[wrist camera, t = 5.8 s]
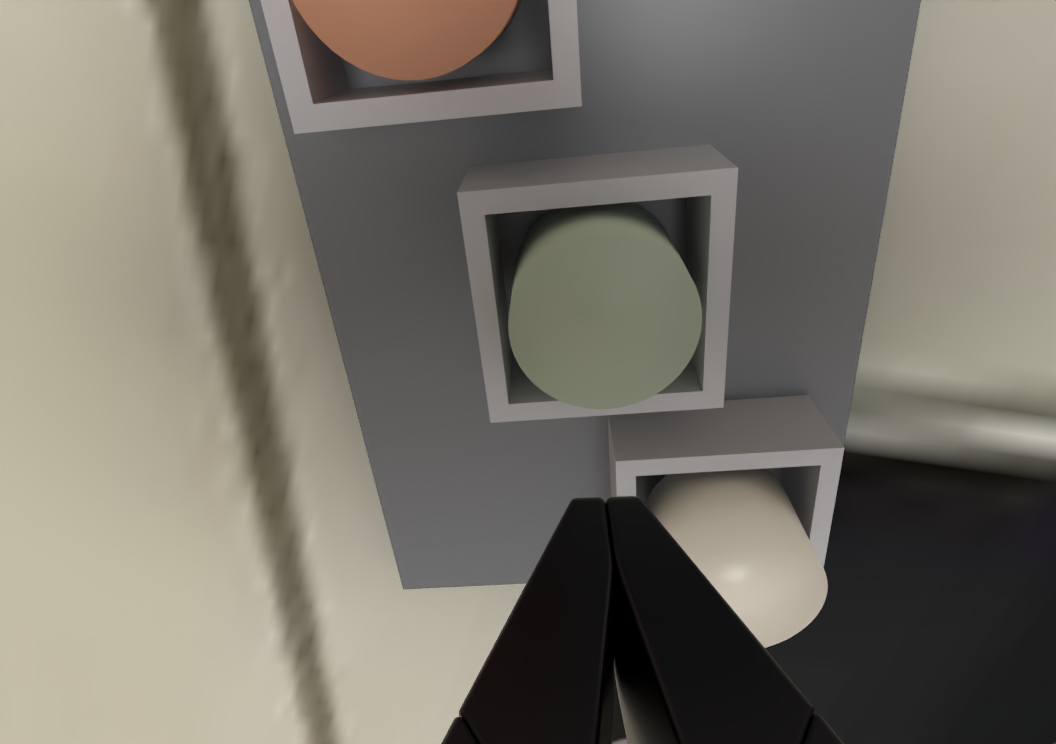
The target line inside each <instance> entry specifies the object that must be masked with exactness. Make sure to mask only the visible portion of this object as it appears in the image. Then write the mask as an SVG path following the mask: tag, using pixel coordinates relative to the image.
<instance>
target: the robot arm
mask: <svg viewBox="0 0 1056 744" xmlns="http://www.w3.org/2000/svg"><path fill="white" fill-rule="evenodd" d="M614 667H615V677H616V684H617V690H618V696H619V702H620V707H621V712H622V717H623V722H624V727H625V732H626V737H627V743H628V744H844V743H843V741H842V740H841V739H840V738H839V737H838V735H837V734H836V733H835V732H834V730H833V729H832V728H831V727H830V726H829V724H828V723H827V722H826V721H825V719H824V718H823V717H822V716H821V715H819V714H815V715H814V712H815V709H814V707H813V705H812V704H811V703H810V702H809V701H808V699H807V698H806V697H805V696H804V695H803V693H802V692H801V691H800V690H799V689H798V687H797V686H796V685H795V684H794V683H793V681H792V680H791V679H790V678H789V677H788V675H787V674H786V673H785V672H784V671H783V669H782V668H781V667H780V666H779V665H778V663H777V662H776V661H775V660H774V658H773V657H772V656H771V655H770V654H769V652H768V651H767V650H766V649H765V648H764V646H763V645H762V644H761V643H760V642H759V640H758V639H757V638H756V637H755V636H754V634H753V633H752V632H751V631H750V630H749V628H748V627H747V626H746V625H745V624H744V622H743V621H742V620H741V619H740V618H739V616H738V615H737V614H736V613H735V611H734V610H733V609H732V608H731V607H730V605H729V604H728V603H727V602H726V601H725V599H724V598H723V597H722V596H721V595H720V593H719V592H718V591H717V590H716V589H715V587H714V586H713V585H712V584H711V583H710V581H709V580H708V579H707V578H706V577H705V575H704V574H703V573H702V572H701V571H700V569H699V568H698V567H697V566H696V565H695V563H694V562H693V561H692V560H691V558H690V557H689V556H688V555H687V554H686V552H685V551H684V550H683V549H682V548H681V546H680V545H679V544H678V543H677V542H676V540H675V539H674V538H673V537H672V536H671V534H670V533H669V532H668V531H667V530H666V528H665V527H664V526H663V525H662V524H661V522H660V521H659V520H658V519H657V518H656V516H655V515H654V514H653V513H652V511H651V510H650V509H649V508H648V507H647V505H646V504H645V503H644V502H643V501H642V500H641V499H640V498H639V497H637V496H618V497H609V498H608V499H607V500H606V503H605V500H604V499H603V498H601V497H584V498H574V499H572V500H571V501H570V503H569V505H568V507H567V508H566V510H565V512H564V514H563V516H562V518H561V520H560V522H559V524H558V525H557V527H556V529H555V531H554V533H553V535H552V537H551V539H550V541H549V542H548V544H547V546H546V548H545V550H544V552H543V554H542V556H541V557H540V559H539V561H538V563H537V565H536V567H535V569H534V571H533V573H532V574H531V576H530V578H529V580H528V582H527V584H526V586H525V588H524V590H523V591H522V593H521V595H520V597H519V599H518V601H517V603H516V605H515V607H514V608H513V610H512V612H511V614H510V616H509V618H508V620H507V622H506V623H505V625H504V627H503V629H502V631H501V633H500V635H499V637H498V639H497V640H496V642H495V644H494V646H493V648H492V650H491V652H490V654H489V656H488V657H487V659H486V661H485V663H484V665H483V667H482V669H481V671H480V672H479V674H478V676H477V678H476V680H475V682H474V684H473V686H472V688H471V689H470V691H469V693H468V695H467V697H466V699H465V701H464V703H463V705H462V706H461V708H460V710H459V717H456V718H455V719H454V721H453V723H452V725H451V726H450V728H449V730H448V732H447V734H446V736H445V738H444V740H443V742H442V743H441V744H612V724H613V704H614Z"/></svg>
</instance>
